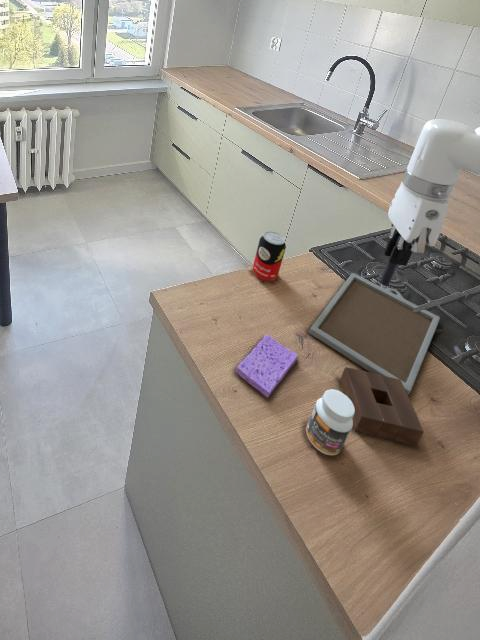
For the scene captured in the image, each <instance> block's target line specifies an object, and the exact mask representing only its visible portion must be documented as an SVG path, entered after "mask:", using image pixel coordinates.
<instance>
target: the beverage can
mask: <svg viewBox="0 0 480 640" xmlns="http://www.w3.org/2000/svg"><path fill="white" fill-rule="evenodd" d="M285 241H286V239H285V237H284V236H283V235H282V234H280V233H278V232H277V231H265V232H264V233H263V235H262V236H260V238H259V241H258V245H257V248H256V253H255V256H254V260H253V264H252V271H253V273H254V274H255V275H256V276H257V277H258V278H259V279H261V280H263V281H274V280H276V279H277V278H278V277H279V273H280V270H281V266H282V263H283V260H284V256H285V252H286V249H287V246H286V242H285ZM254 267H255V268H254Z"/></svg>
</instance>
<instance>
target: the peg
mask: <svg viewBox="0 0 480 640" xmlns="http://www.w3.org/2000/svg"><path fill="white" fill-rule="evenodd" d="M400 238H401V236H399V237H398V240H397V242H396V244H395V246H397V245H398V242H399V240H400ZM406 243H408V242H407V241H406ZM397 267H398V265H397V264H391V263H390V262H389V261H388V260H387V264H386V266H385V269H384V271H383V272H382V276H381V278H380V280H379V283H380V287H382V288H385V289H386V287H388V286H389V285H390V283H391V281H392V278H393V276H394V274H395V273H396V269H397Z"/></svg>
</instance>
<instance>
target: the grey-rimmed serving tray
mask: <svg viewBox="0 0 480 640" xmlns="http://www.w3.org/2000/svg"><path fill="white" fill-rule="evenodd" d="M417 307H420V306H419V305H417V304H415V303H413V302H412V301H410V300H407V299H406V298H405V297H404V296H403V295H402V294H401V292H399V291H398V290H397V289H395V288H388V287H387V288H386V287H385V288H382V287H381V285H378V284H376V283H374V282H372V281H370V280H368V279H367V278H364V277H363V276H360V275H359V274H357V273H354V272H351V273H350V275H349V276H348V277H347V279H346V280H345V282H344V283H343V284H342V285H341V287H340V288H339V289H338V291H337V292H336V293H335V294H334V296H333V298H332V299H330V302H329V303H328V304H327V305H326V307H325V308H324V309H323V311H321V313H320V314H319V316H318V318H316V320H315V321H314V322H313V324H312V325H311V327H310V328H309V330H308V334H310V335H311V336H312V337H314V338H316V339H317V340H319V341H320V342H322V343H324V344H325V345H327V346H328V347H330V348H332V349H333V350H335V351H336V352H338V353H339V354H341V355H343V356H344V357H345V358H347V359H349V360H350V361H352V362H353V363H355V364H356V365H358V366H359V367H361V368H362V369H364V370H366V372H370V373H374V374H378V375H383V376H387V377H391V378H396V379H400V380H401V382H402V384H403V386H404V389H405V391H406V393H407V395H408V396H409V395H410V394H411V392H412V389H413V386H414V385H415V381H416V380H417V377H418V374H419V372H420V369H421V367H422V365H423V362H424V360H425V357H426V354H427V352H428V350H429V347H430V345H431V343H432V339H433V337H434V335H435V332H436V330H437V327H438V325H439V322H440V319H441V317H440V316H439V315H436V314H434V313H432V312H430V311H428V310H427V309H425V310H421V311H420V313H419V312H413V309H415V308H417Z"/></svg>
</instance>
